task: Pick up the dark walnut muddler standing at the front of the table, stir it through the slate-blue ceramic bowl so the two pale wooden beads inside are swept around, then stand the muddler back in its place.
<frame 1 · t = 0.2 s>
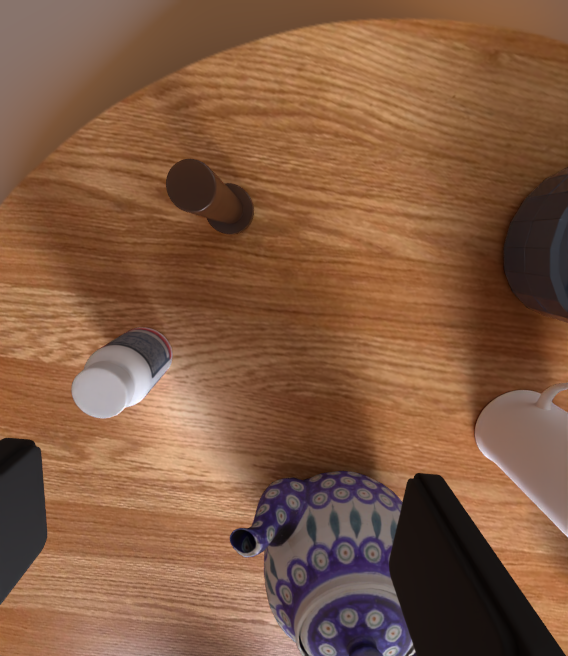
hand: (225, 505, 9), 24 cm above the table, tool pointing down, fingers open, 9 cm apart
teapot: (333, 508, 38), on the table
mug: (516, 411, 35), on the table
pill bottle: (146, 352, 33), on the table
muddler: (231, 210, 30), on the table
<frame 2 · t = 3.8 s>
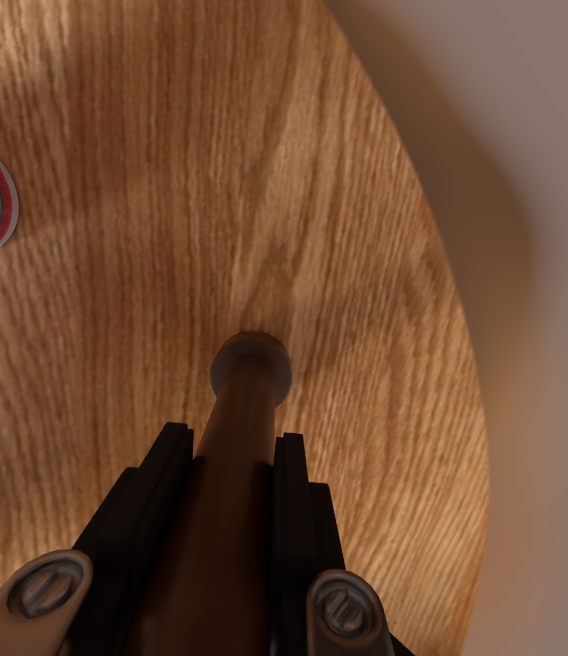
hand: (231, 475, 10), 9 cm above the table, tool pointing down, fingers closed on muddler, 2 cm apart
muddler: (253, 367, 18), on the table, touching gripper
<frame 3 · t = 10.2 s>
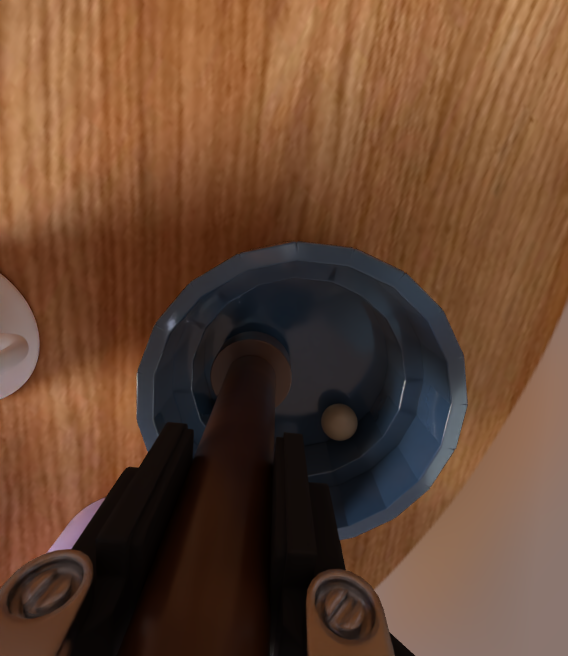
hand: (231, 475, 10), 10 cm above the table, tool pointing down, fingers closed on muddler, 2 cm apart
bead b: (339, 421, 19), point 2 cm above the table, touching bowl
clip: (128, 587, 24), on the table
muddler: (253, 367, 18), point 2 cm above the table, touching bead a, gripper
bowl: (295, 361, 20), on the table
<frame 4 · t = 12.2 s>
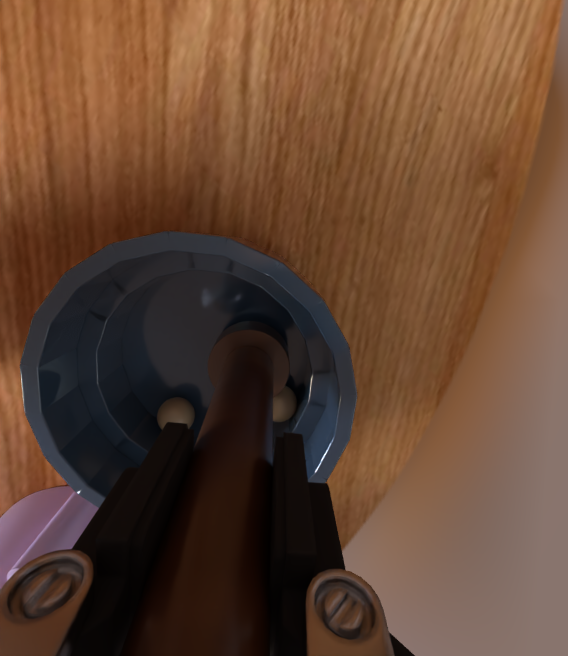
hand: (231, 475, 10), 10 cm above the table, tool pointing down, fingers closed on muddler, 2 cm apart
bead a: (176, 415, 19), point 2 cm above the table, tilted 26°, touching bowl
bead b: (278, 402, 18), point 2 cm above the table, tilted 23°, touching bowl, muddler
clip: (65, 583, 24), on the table
muddler: (250, 357, 18), point 2 cm above the table, touching bead b, gripper
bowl: (217, 355, 20), on the table
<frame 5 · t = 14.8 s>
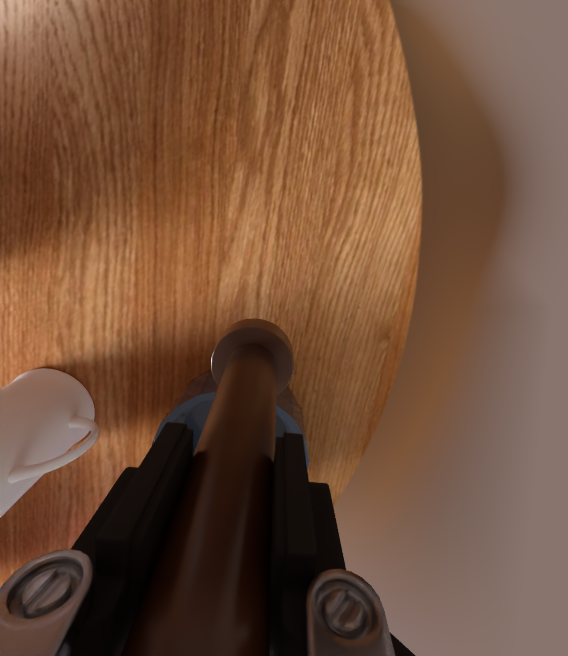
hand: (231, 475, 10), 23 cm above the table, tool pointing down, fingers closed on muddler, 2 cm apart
mug: (69, 407, 34), on the table
muddler: (254, 354, 18), point 14 cm above the table, touching gripper
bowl: (238, 425, 35), on the table
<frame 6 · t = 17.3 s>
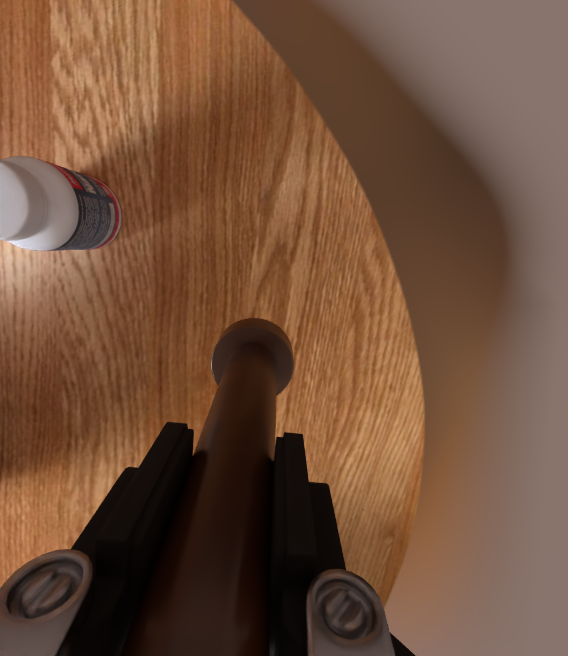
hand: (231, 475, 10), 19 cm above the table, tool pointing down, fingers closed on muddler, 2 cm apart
pill bottle: (89, 213, 26), on the table
muddler: (254, 354, 18), point 10 cm above the table, touching gripper
when the fingers open (9 cm above the table, at t = 19.7 s): muddler stays where it is, on the table.
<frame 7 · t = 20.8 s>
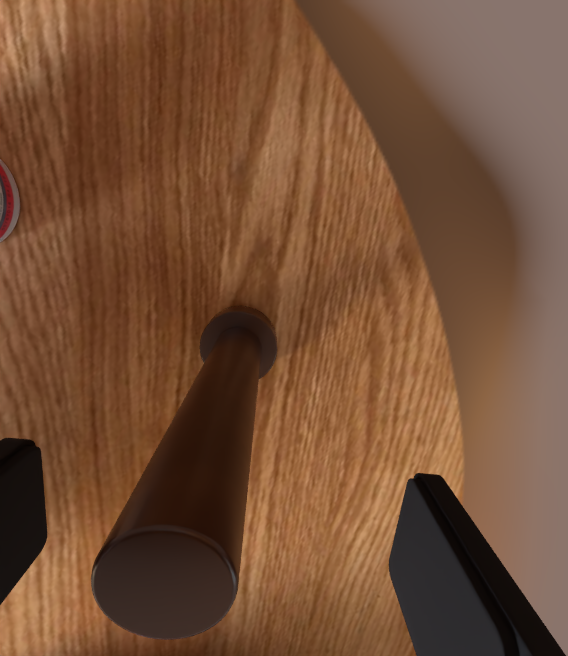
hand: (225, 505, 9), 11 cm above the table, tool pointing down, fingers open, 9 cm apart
muddler: (241, 340, 19), on the table
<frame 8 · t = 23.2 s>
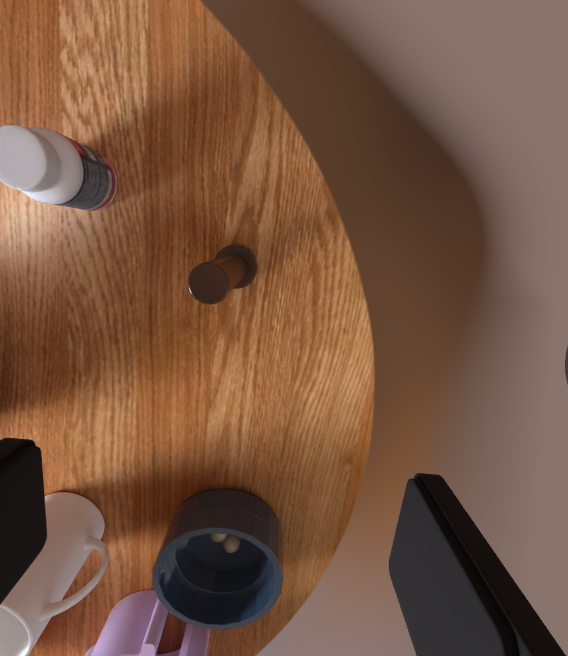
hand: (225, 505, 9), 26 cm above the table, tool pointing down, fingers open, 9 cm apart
bead a: (231, 542, 39), point 2 cm above the table, tilted 85°, touching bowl
bead b: (219, 531, 39), point 2 cm above the table, tilted 95°, touching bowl
clip: (144, 636, 45), on the table
mug: (83, 520, 40), on the table
pill bottle: (90, 181, 31), on the table
muddler: (237, 266, 33), on the table
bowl: (226, 532, 41), on the table
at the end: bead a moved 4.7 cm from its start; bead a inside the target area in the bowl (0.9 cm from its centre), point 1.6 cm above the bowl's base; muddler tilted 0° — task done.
